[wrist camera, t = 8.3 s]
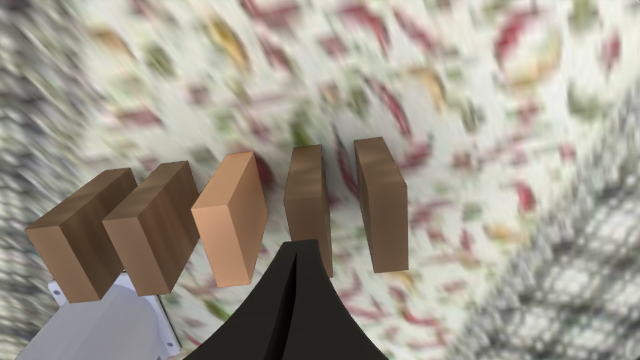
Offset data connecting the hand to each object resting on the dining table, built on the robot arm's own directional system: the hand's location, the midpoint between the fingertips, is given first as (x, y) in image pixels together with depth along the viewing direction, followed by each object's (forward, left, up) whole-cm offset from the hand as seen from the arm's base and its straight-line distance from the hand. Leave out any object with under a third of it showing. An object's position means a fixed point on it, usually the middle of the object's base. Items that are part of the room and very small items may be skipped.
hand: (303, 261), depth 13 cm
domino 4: (-2, 0, -11) cm, 11 cm away
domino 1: (-2, +13, -11) cm, 17 cm away
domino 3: (-2, +5, -11) cm, 12 cm away
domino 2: (-2, +9, -11) cm, 14 cm away
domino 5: (-2, -4, -11) cm, 11 cm away
